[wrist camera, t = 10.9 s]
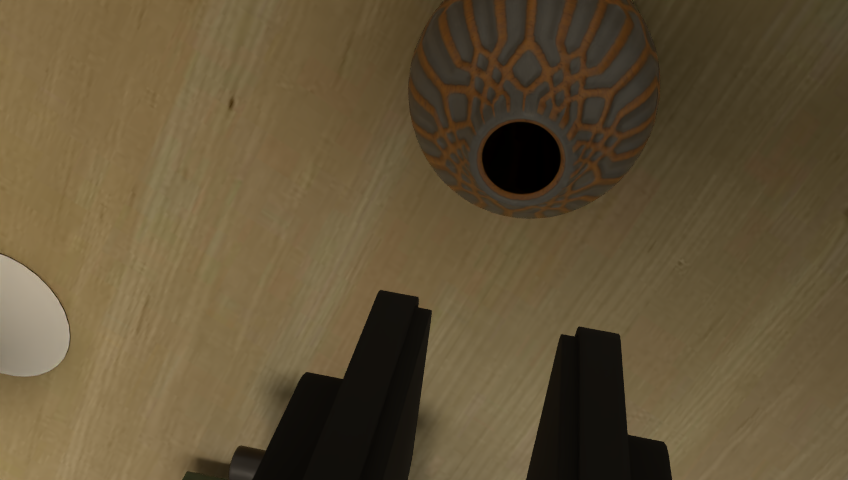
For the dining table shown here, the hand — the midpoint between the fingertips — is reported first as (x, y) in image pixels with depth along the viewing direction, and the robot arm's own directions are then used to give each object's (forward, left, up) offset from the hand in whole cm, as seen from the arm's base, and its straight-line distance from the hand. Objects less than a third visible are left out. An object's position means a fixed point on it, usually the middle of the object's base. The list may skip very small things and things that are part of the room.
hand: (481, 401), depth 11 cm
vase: (0, 0, -17) cm, 17 cm away
